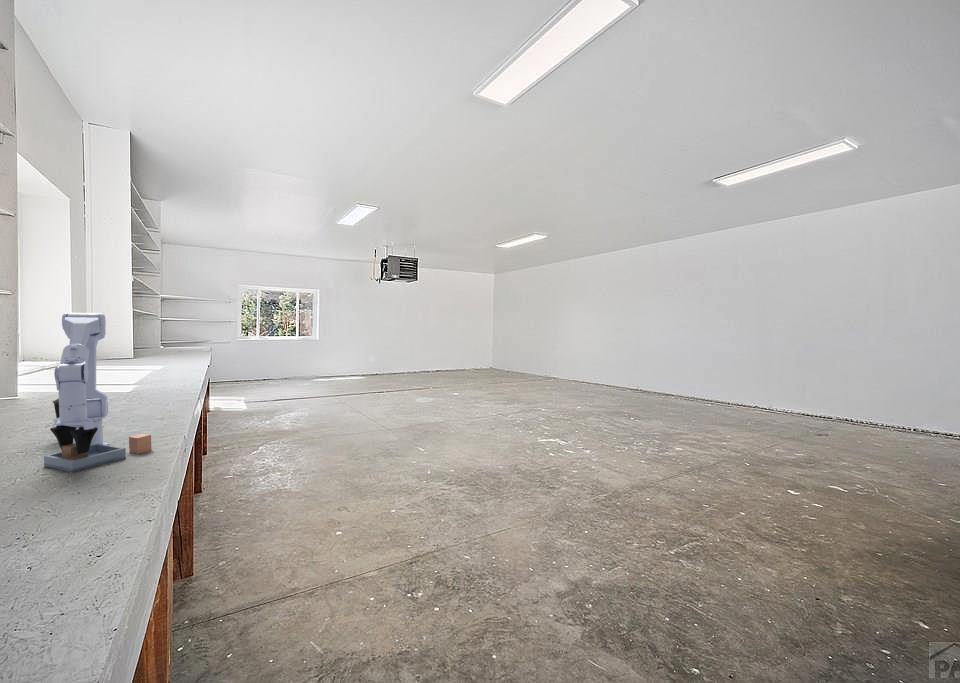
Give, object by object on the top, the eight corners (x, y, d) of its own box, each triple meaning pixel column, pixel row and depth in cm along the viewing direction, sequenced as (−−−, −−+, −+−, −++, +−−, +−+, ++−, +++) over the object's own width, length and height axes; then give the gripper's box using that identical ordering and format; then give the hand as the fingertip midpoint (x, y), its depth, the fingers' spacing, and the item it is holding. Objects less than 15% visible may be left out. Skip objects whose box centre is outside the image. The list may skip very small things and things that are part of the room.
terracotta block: (129, 452, 134) (128, 436, 133) (143, 448, 137) (142, 433, 137) (137, 453, 132) (137, 438, 132) (151, 450, 136) (151, 434, 136)
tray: (44, 466, 120) (43, 455, 120) (98, 452, 132) (97, 443, 132) (72, 472, 116) (72, 461, 116) (125, 457, 128) (125, 448, 128)
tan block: (79, 458, 124) (78, 442, 124) (88, 460, 123) (87, 443, 123) (62, 463, 120) (61, 446, 120) (71, 465, 119) (70, 447, 119)
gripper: (39, 405, 119) (41, 452, 120) (71, 409, 115) (73, 458, 115) (70, 401, 126) (72, 445, 127) (102, 404, 121) (103, 451, 122)
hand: (75, 451), depth 122 cm, fingers open, 7 cm apart
